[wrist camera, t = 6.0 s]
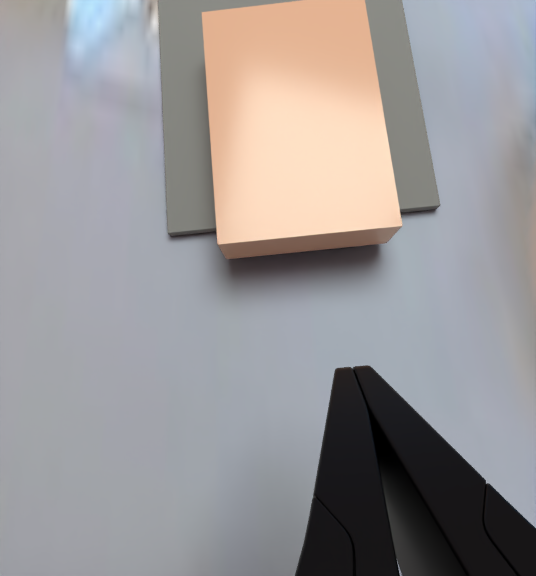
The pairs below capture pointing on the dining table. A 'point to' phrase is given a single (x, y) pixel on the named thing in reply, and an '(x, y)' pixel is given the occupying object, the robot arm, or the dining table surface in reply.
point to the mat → (195, 117)
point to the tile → (297, 129)
